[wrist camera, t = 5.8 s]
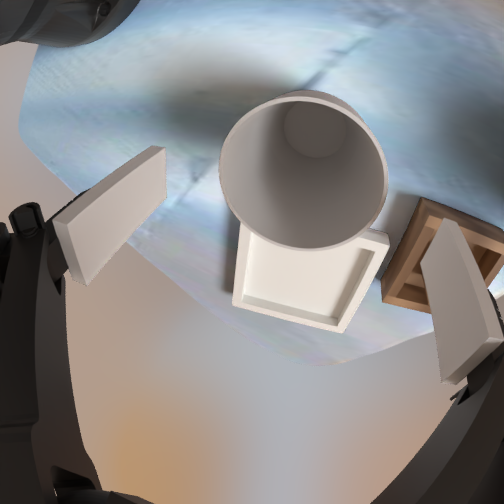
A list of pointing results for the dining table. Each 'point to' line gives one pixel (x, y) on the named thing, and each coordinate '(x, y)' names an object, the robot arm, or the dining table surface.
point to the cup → (304, 172)
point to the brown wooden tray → (417, 243)
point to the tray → (307, 279)
